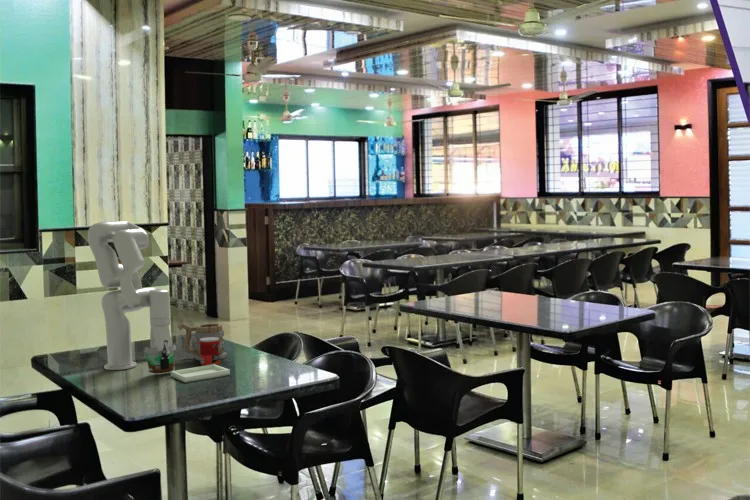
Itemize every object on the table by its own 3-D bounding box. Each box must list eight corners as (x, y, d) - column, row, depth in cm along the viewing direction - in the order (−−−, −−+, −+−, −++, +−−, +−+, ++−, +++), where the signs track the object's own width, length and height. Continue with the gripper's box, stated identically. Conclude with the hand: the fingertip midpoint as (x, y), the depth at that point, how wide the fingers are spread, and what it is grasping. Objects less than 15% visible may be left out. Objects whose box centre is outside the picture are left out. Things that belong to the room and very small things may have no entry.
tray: (171, 376, 299) (170, 371, 299) (214, 369, 310) (214, 364, 310) (185, 382, 288) (185, 377, 288) (229, 374, 298) (229, 369, 298)
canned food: (216, 367, 313) (214, 340, 312) (197, 367, 314) (196, 340, 314) (223, 363, 320) (222, 336, 319) (205, 363, 322) (204, 336, 321)
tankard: (230, 354, 338) (228, 320, 337) (219, 361, 325) (217, 325, 324) (186, 354, 341) (185, 320, 340) (174, 360, 329) (172, 325, 328)
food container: (148, 375, 297) (147, 349, 296) (145, 372, 302) (143, 346, 301) (180, 371, 303) (179, 345, 302) (176, 368, 308) (175, 343, 307)
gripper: (143, 319, 306) (144, 364, 307) (159, 325, 292) (160, 373, 294) (161, 317, 310) (163, 362, 312) (178, 323, 297) (179, 370, 298)
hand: (161, 366), depth 303 cm, fingers closed on food container, 5 cm apart
